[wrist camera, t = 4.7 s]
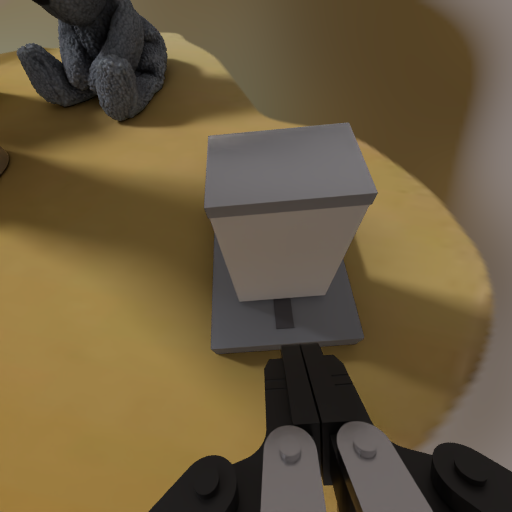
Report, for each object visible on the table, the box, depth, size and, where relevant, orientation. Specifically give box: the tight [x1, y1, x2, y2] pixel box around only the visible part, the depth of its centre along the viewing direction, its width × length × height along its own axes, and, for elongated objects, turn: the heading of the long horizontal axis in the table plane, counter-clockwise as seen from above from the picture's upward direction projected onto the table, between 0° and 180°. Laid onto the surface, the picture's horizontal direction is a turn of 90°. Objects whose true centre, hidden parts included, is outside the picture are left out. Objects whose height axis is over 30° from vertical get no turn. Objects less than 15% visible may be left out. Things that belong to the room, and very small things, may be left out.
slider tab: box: [204, 123, 378, 302], centre depth 14 cm, size 4×6×10 cm
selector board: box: [211, 232, 364, 354], centre depth 22 cm, size 22×10×2 cm, turn 3°
